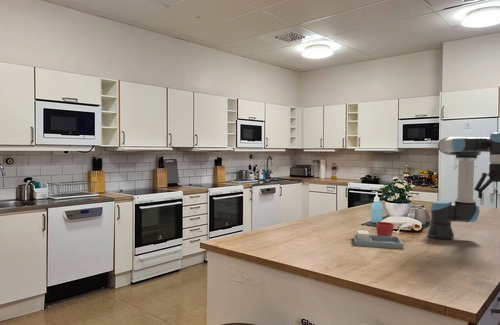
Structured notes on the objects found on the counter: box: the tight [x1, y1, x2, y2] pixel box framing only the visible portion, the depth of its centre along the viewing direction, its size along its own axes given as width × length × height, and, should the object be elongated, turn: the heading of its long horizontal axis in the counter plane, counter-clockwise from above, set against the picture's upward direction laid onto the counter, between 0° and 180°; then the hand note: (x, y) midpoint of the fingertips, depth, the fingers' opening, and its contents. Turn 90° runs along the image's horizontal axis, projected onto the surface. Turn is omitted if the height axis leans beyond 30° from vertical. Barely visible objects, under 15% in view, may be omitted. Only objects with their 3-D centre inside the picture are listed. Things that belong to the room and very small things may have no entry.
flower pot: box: [375, 221, 395, 236], centre depth 231 cm, size 11×11×10 cm
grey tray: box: [353, 233, 404, 251], centre depth 216 cm, size 18×26×4 cm
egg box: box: [356, 229, 370, 241], centre depth 217 cm, size 10×6×6 cm, turn 166°
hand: (496, 205), depth 185 cm, fingers open, 13 cm apart
